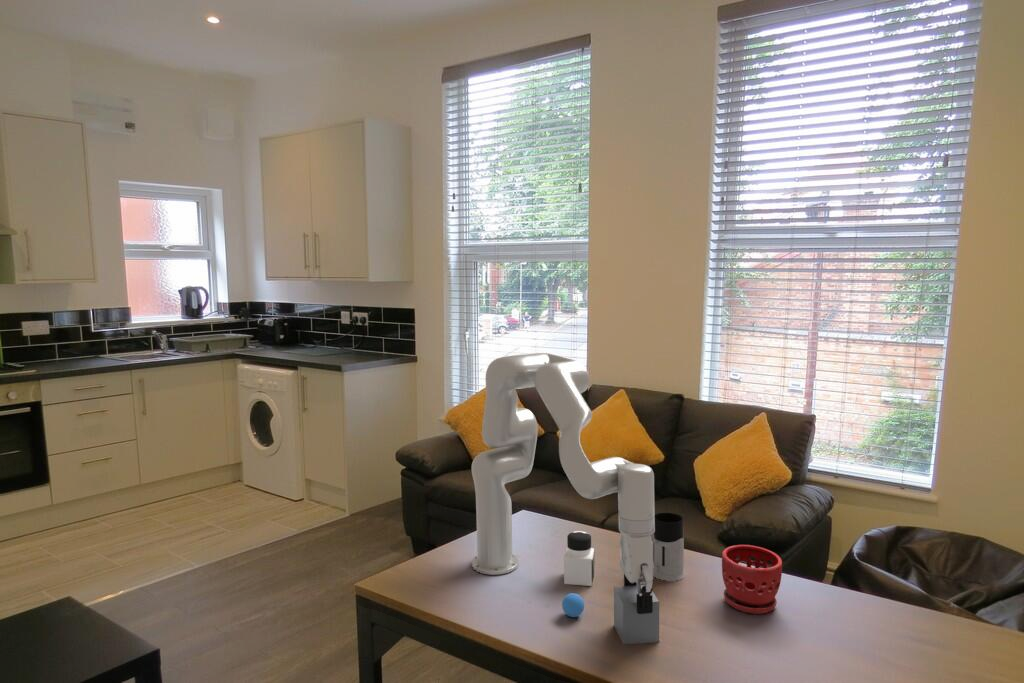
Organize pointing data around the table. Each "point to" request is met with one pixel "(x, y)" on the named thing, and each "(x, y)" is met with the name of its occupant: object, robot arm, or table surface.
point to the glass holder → (668, 547)
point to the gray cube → (634, 617)
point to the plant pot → (751, 578)
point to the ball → (573, 605)
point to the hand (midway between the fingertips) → (637, 601)
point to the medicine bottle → (579, 559)
